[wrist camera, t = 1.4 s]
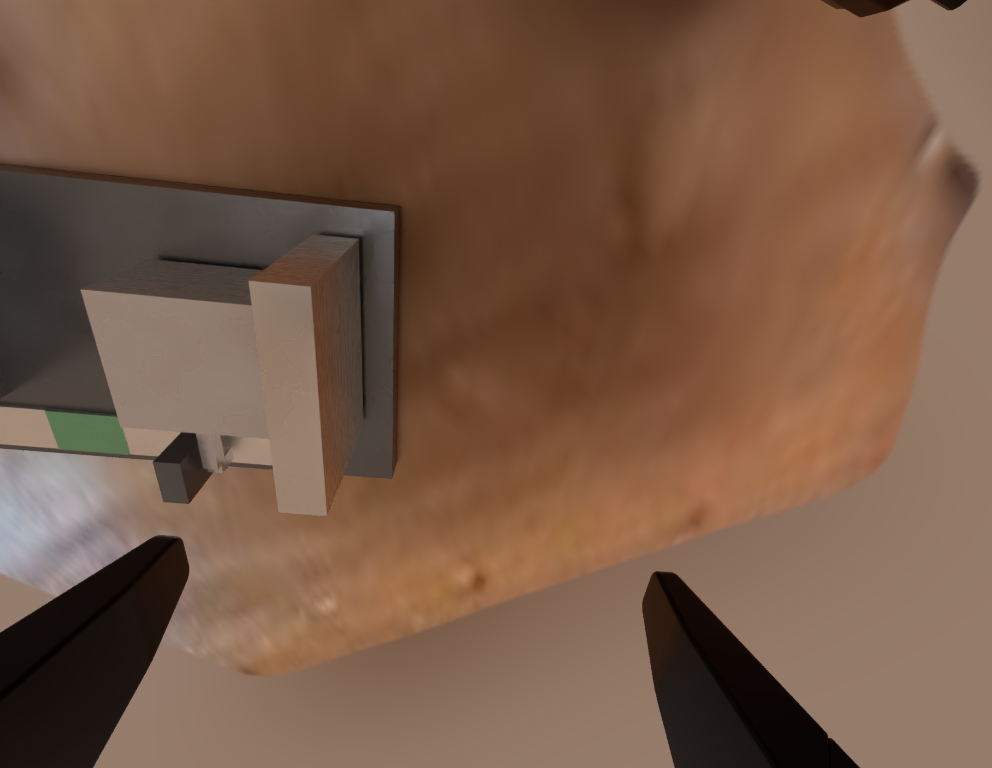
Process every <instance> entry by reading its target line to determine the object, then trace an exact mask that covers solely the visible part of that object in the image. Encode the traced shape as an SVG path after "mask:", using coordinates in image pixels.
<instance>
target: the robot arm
mask: <svg viewBox="0 0 992 768" xmlns="http://www.w3.org/2000/svg"><path fill="white" fill-rule="evenodd" d="M821 1H823V2H825V3H827V4H828V5H830V6H832V7H834V8H835V9H846V10H848V11H850V12H851V13H853V14H855V15H856V16H858V17H860V18H861V17H865V16H869V15H872V14H876V13H880V12H884V11H887V10H890V9H892V8H894V7H896V6H898V5H901V4H903V3H905V2H907V1H909V0H821ZM932 1H933V2H935V3H937V4H938V5H940V6H941V7H943V8H945V9H946V10H954V9H955V8H957V7H959V6H961V5H962V4H963V3H964V2H965V1H967V0H932ZM188 576H189V564H188V559H187V555H186V551H185V547H184V543H183V540H182V539H181V538H180V537H177V536H166V535H158V536H155V537H153V538H151V539H149V540H147V541H146V542H144V543H143V544H141V545H139V546H138V547H136V548H135V549H133V550H131V551H130V552H128V553H127V554H125V555H123V556H122V557H120V558H119V559H117V560H115V561H114V562H112V563H111V564H109V565H107V566H106V567H104V568H103V569H101V570H99V571H98V572H96V573H95V574H93V575H91V576H90V577H88V578H87V579H85V580H83V581H82V582H80V583H79V584H77V585H75V586H74V587H72V588H71V589H69V590H68V591H66V592H64V593H63V594H61V595H60V596H58V597H56V598H55V599H53V600H52V601H50V602H48V603H47V604H45V605H44V606H42V607H40V608H39V609H37V610H36V611H34V612H32V613H31V614H29V615H28V616H26V617H24V618H23V619H21V620H20V621H18V622H16V623H15V624H13V625H12V626H10V627H8V628H7V629H5V630H4V631H2V632H0V768H93V767H94V765H95V763H96V761H97V760H98V758H99V756H100V754H101V752H102V751H103V749H104V747H105V745H106V743H107V742H108V740H109V738H110V736H111V734H112V733H113V731H114V729H115V727H116V725H117V724H118V722H119V720H120V718H121V716H122V715H123V713H124V711H125V709H126V707H127V706H128V704H129V702H130V700H131V699H132V697H133V695H134V693H135V691H136V690H137V688H138V686H139V684H140V682H141V681H142V679H143V677H144V675H145V673H146V671H147V669H148V668H149V666H150V664H151V662H152V660H153V657H154V656H155V653H156V651H157V649H158V647H159V645H160V642H161V640H162V638H163V635H164V633H165V631H166V628H167V626H168V624H169V621H170V619H171V617H172V614H173V612H174V610H175V608H176V605H177V603H178V601H179V598H180V596H181V594H182V591H183V589H184V587H185V584H186V582H187V579H188ZM642 608H643V609H642V611H643V618H644V624H645V630H646V637H647V644H648V650H649V657H650V663H651V670H652V676H653V682H654V688H655V692H656V697H657V701H658V705H659V709H660V713H661V717H662V721H663V725H664V728H665V732H666V736H667V740H668V744H669V748H670V751H671V755H672V759H673V763H674V767H675V768H860V767H859V766H858V765H857V764H856V763H855V762H854V761H853V760H852V759H851V758H850V757H849V756H848V755H847V754H846V753H845V752H844V751H843V750H842V749H841V748H840V746H839V745H838V744H837V743H836V742H835V741H834V740H833V739H831V738H828V735H827V733H826V732H825V731H824V730H823V729H822V728H821V727H820V726H819V724H818V723H817V722H816V721H815V720H814V719H813V718H812V717H811V716H810V715H809V714H808V713H807V712H806V711H805V710H804V709H803V708H802V706H800V704H799V703H798V702H797V701H796V700H795V699H794V698H793V697H792V696H791V695H790V694H789V693H788V692H787V691H786V690H785V688H784V687H783V686H782V685H781V684H780V683H779V682H778V681H777V680H776V679H775V678H774V677H773V676H772V675H771V674H770V673H769V672H768V670H767V669H766V668H765V667H764V666H763V665H762V664H761V663H760V662H759V661H758V660H757V659H756V658H755V657H754V656H753V655H752V654H751V652H750V651H749V650H748V649H747V648H746V647H745V646H744V645H743V644H742V643H741V642H740V641H739V640H738V639H737V638H736V637H735V636H734V634H733V633H732V632H731V631H730V630H729V629H728V628H727V627H726V626H725V625H724V624H723V623H722V622H721V621H720V620H719V619H718V618H717V616H716V615H715V614H714V613H713V612H712V611H711V610H710V609H709V608H708V607H707V606H706V605H705V604H704V603H703V602H702V601H701V600H700V598H699V597H698V596H697V595H696V594H695V593H694V592H693V591H692V590H691V589H690V588H689V587H688V586H687V585H686V584H685V583H684V582H683V580H682V579H681V578H680V577H679V576H678V575H676V574H675V573H672V572H660V571H656V572H654V573H653V574H652V576H651V578H650V581H649V584H648V587H647V589H646V592H645V595H644V598H643V603H642Z"/></svg>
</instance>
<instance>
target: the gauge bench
mask: <svg viewBox="0 0 992 768" xmlns="http://www.w3.org/2000/svg"><path fill="white" fill-rule="evenodd" d="M399 230H400V206H394V205H384V204H375V203H366V202H356V201H347V200H337V199H328V198H318V197H309V196H300V195H290V194H281V193H271V192H262V191H252V190H243V189H233V188H224V187H215V186H205V185H196V184H186V183H177V182H167V181H158V180H149V179H139V178H130V177H120V176H111V175H101V174H92V173H82V172H73V171H64V170H54V169H45V168H35V167H26V166H16V165H7V164H0V448H3V449H16V450H29V451H42V452H55V453H68V454H81V455H93V456H106V457H119V458H132V459H145V460H155V459H156V458H157V457H158V456H159V455H160V454H161V453H162V452H163V451H164V450H165V449H166V448H167V447H168V445H169V444H170V443H171V442H172V441H173V440H174V439H175V438H176V437H177V436H178V435H179V434H180V433H181V432H174V431H162V430H149V429H137V428H125V427H120V423H119V420H118V416H117V413H116V410H115V406H114V403H113V399H112V396H111V393H110V389H109V386H108V382H107V379H106V375H105V372H104V369H103V365H102V362H101V358H100V355H99V351H98V348H97V345H96V341H95V338H94V334H93V331H92V328H91V324H90V321H89V317H88V314H87V310H86V307H85V304H84V300H83V297H82V293H81V290H80V289H82V288H85V287H87V286H89V285H91V284H94V283H96V282H98V281H100V280H103V279H105V278H107V277H109V276H112V275H114V274H116V273H118V272H121V271H123V270H125V269H127V268H130V267H132V266H134V265H136V264H138V263H141V262H143V261H145V260H147V259H154V260H164V261H174V262H184V263H194V264H205V265H215V266H225V267H235V268H245V269H256V270H264V269H266V268H267V267H268V266H270V265H271V264H273V263H274V262H275V261H277V260H278V259H280V258H281V257H282V256H284V255H285V254H287V253H288V252H289V251H291V250H292V249H294V248H295V247H296V246H298V245H299V244H301V243H302V242H303V241H305V240H306V239H308V238H309V237H310V236H312V235H313V234H316V235H326V236H335V237H345V238H355V239H359V264H360V306H361V348H362V390H363V428H362V431H361V433H360V436H359V438H358V441H357V443H356V446H355V448H354V451H353V453H352V455H351V458H350V460H349V463H348V465H347V468H346V470H345V473H344V475H350V476H363V477H376V478H389V479H392V477H393V474H394V470H395V466H396V454H397V379H398V305H399ZM220 436H221V441H222V446H223V447H232V451H233V456H234V459H233V460H232V462H231V463H230V464H229V466H235V467H247V468H260V469H273V465H272V458H271V450H270V442H269V439H261V438H248V437H236V436H224V435H220Z"/></svg>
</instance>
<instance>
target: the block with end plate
mask: <svg viewBox="0 0 992 768" xmlns="http://www.w3.org/2000/svg"><path fill="white" fill-rule="evenodd" d="M80 290H81V293H82V297H83V300H84V304H85V307H86V310H87V314H88V317H89V321H90V324H91V328H92V331H93V334H94V338H95V341H96V345H97V348H98V351H99V355H100V358H101V362H102V365H103V369H104V372H105V375H106V379H107V382H108V386H109V389H110V393H111V396H112V399H113V403H114V406H115V410H116V413H117V416H118V420H119V423H120V427H125V428H137V429H149V430H162V431H174V432H187V433H196V437H197V441H198V446H199V451H200V456H201V460H202V465H203V469H208V472H216V473H224V471H225V470H226V469H227V467H228V466H229V464H230V463H231V462H232V460H233V459H234V456H233V451H232V447H223V446H222V441H221V436H220V435H224V436H236V437H248V438H261V439H269V442H270V450H271V458H272V465H273V473H274V481H275V488H276V496H277V504H278V512H279V513H293V514H307V515H320V516H327V515H328V512H329V510H330V507H331V505H332V502H333V500H334V497H335V495H336V492H337V490H338V488H339V485H340V483H341V480H342V478H343V475H344V473H345V470H346V468H347V465H348V463H349V460H350V458H351V455H352V453H353V451H354V448H355V446H356V443H357V441H358V438H359V436H360V433H361V431H362V428H363V390H362V348H361V306H360V264H359V239H355V238H345V237H335V236H326V235H316V234H313V235H312V236H310V237H309V238H308V239H306V240H305V241H303V242H302V243H301V244H299V245H298V246H296V247H295V248H294V249H292V250H291V251H289V252H288V253H287V254H285V255H284V256H282V257H281V258H280V259H278V260H277V261H275V262H274V263H273V264H271V265H270V266H268V267H267V268H266V269H264V270H256V269H245V268H235V267H225V266H215V265H205V264H194V263H184V262H174V261H164V260H154V259H147V260H145V261H143V262H141V263H138V264H136V265H134V266H132V267H130V268H127V269H125V270H123V271H121V272H118V273H116V274H114V275H112V276H109V277H107V278H105V279H103V280H100V281H98V282H96V283H94V284H91V285H89V286H87V287H85V288H82V289H80Z"/></svg>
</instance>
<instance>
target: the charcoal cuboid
mask: <svg viewBox="0 0 992 768" xmlns="http://www.w3.org/2000/svg"><path fill="white" fill-rule="evenodd" d="M153 465H154V468H155V472H156V476H157V480H158V483H159V487H160V491H161V495H162V498H163V502H171V503H184V504H189V503H190V502H191V501H192V499H193V498H194V497H195V495H196V494H197V493H198V492H199V490H200V489H201V488H202V486H203V485H204V484H205V482H206V481H207V480H208V478H209V477H210V476H211V475H212V473H213V472H208V469H203V465H202V460H201V456H200V451H199V446H198V441H197V437H196V433H187V432H181V433H180V434H179V435H178V436H177V437H176V438H175V439H174V440H173V441H172V442H171V443H170V444H169V445H168V447H167V448H166V449H165V450H164V451H163V452H162V453H161V454H160V455H159V456H158V457H157V458H156V459H155V460H154V461H153Z"/></svg>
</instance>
